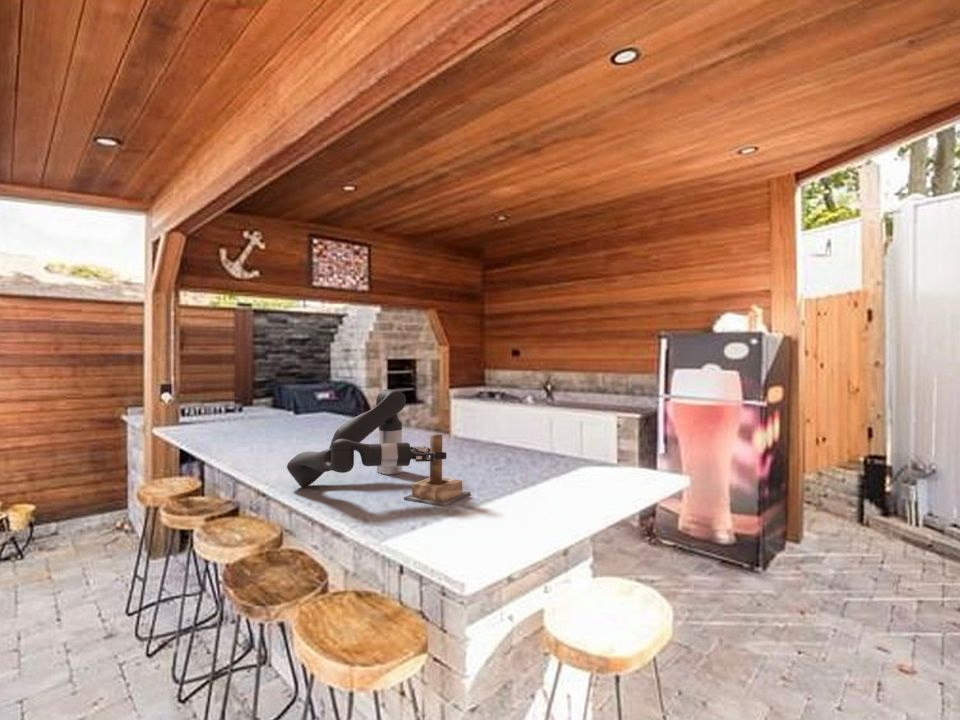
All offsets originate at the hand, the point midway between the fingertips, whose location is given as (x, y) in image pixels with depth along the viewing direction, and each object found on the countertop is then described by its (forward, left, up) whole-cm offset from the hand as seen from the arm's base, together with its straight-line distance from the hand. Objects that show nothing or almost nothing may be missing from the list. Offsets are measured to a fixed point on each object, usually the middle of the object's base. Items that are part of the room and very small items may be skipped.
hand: (443, 453), depth 180 cm
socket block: (-1, -1, -15) cm, 15 cm away
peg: (-2, -2, -14) cm, 14 cm away
